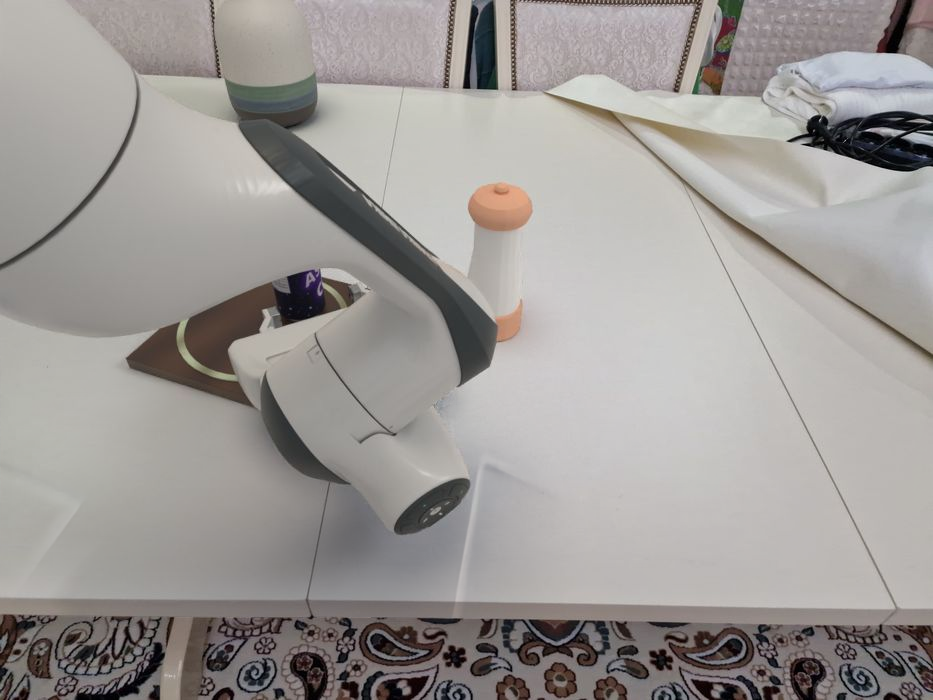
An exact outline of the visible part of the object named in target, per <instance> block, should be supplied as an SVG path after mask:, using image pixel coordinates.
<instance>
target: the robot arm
mask: <svg viewBox="0 0 933 700" xmlns="http://www.w3.org/2000/svg"><path fill="white" fill-rule="evenodd" d="M314 269H320V270H321V269H336V270H339V271H340V270H341V271H343V272H346V273H347V274H349V275H350V276H351V277H353V278H354V279H356V280H357V281H359V282H356V283H354V284H353V283H352V285H350V286H348V290H349V292H348V294H349V298H350V299H351V300H352V303H353V304H352V305H351V306H350V307H347V308H344V309H340V310H337V311H334V312H330V313H327V314H323V315H320V316H317V317H313V318H310V319H306V320H303V321H300V322H296V323H293V324H290V325H286V326H282V322H281V317H280V314H279V311H278V310H277V308H276V306H275V307H271V308H267V309H264V310H262V313H263V317H264V321H263V323H262V325H261V327H260V329H259V330H260V333H259V334H256V335H252V336H249V337H246V338H242V339H238V340H236V341H234V342H233V343H232V344H231V346H230V347H229V349H228V354H229V358H230V361H231V364H232V367H233V370H234V372H235V375H236V377H237V380H238V382H239V384H240V386H241V387H242V389H243V391H244V392H245V394H246V396H247V397H248V399H249V400H250V401H251V403H252V404H253V405H254V406H255V407H254V408H255V409H257V410H258V411H260V412H261V413H260V414H261V418H262V421H263V423H264V426H265V428H266V430H267V433H268V434H269V437H270V438H271V440H272V442H273V444H274V445H275V447H276V448H277V450H278V452H279V453H280V454H281V456H282V457H283V459H284V460H285V461H286V462H287V463H288V464H289V465H290V466H291V467H292V468H293V469H295V470H296V471H298V472H299V473H301V474H302V475H304V476H305V477H309V478H311V479H316V480H320V481H325V482H329V483H333V484H339V485H348V486H351V485H352V486H353V487H354V488H355V489H356V490H357V491H358V492H359V493H360V495H362V497H363V498H364V500H366V502H367V503H368V504H369V506H370V508H372V510H373V512H374V513H375V514H376V515H377V517H378V518H379V520H380V521H381V522H382V524H383V525H384V526H385V527H386V528H387V530H389V531H390V532H392V534H394V535H398V536H404V535H405V536H407V535H412V534H417V533H419V532H421V531H423V530H426V529H428V528H431V527H432V526H434V525H435V524H436V523H439V521H440V520H442V519H443V518H445V517H446V516H447V515H448V514H449V513H451V512H452V511H453V510H454V509H455V508H457V507H458V506H459V505H460V504H461V503H462V501H463V500H464V498H465V497H466V496H467V494H468V492H469V490H470V488H471V485H472V478H471V475H470V472H469V469H468V466H467V464H466V462H465V459H464V457H463V456H462V455H463V454H462V453H461V451H460V449H459V447H458V445H457V443H456V441H455V439H454V437H453V434H452V433H451V431H450V429H449V428H448V426H447V425H446V423H445V421H444V420H443V418H442V416H441V415H440V413H439V412H438V411H437V409H436V407H435V406H434V405H435V404H436V403H438V402H439V401H440V400H441V399H443V398H444V397H445V396H446V395H448V394H449V393H450V392H452V391H453V390H454V389H455V388H456V389H457V388H460V387H462V386H463V385H464V384H466V383H467V382H469V381H470V380H472V379H475V378H476V377H477V376H478V375H480V374H481V373H483V372H484V371H486V370H487V369H489V368H490V367H491V364H492V361H493V358H494V355H495V350H496V347H497V342H496V341H497V334H498V325H497V324H496V321H495V317H494V314H493V312H492V309H491V307H490V306H489V304H488V302H487V300H486V299H485V297H484V296H483V295H482V293H481V292H480V291H479V289H478V288H477V287H476V286H475V285H474V284H473V283H472V282H471V280H470V279H468V278H467V275H465V273H463V272H462V271H460V270H459V269H458V268H456V267H454V266H453V265H451V264H449V263H447V262H446V261H444V260H442V259H441V258H440V257H438V256H437V255H436V254H435V253H433V251H431V250H430V249H428V248H427V247H426V246H425V245H423V243H421V242H420V241H419V240H418V239H417V238H416V237H415V236H413V235H412V234H411V233H410V232H409V231H408V230H407V229H405V227H404V226H402V224H401V223H399V222H398V221H397V220H396V219H395V218H394V217H393V216H391V215H390V213H388V212H387V211H386V210H385V209H384V208H382V206H381V205H379V204H378V203H377V201H375V200H374V199H373V198H372V197H371V196H370V195H369V194H368V193H366V192H365V191H364V190H363V189H362V188H361V187H360V186H358V185H357V184H356V183H355V182H354V181H353V180H352V179H351V178H349V177H348V176H347V174H345V173H344V172H343V171H342V170H340V169H339V168H338V167H337V166H336V165H334V164H333V163H332V162H331V161H330V160H328V159H327V158H326V157H325V156H324V155H323V154H321V153H320V152H319V151H318V150H316V149H315V148H314V147H312V146H311V145H310V144H309V143H308V142H307V141H305V140H304V139H303V138H301V137H300V136H298V135H296V134H295V133H294V132H292V131H291V130H289V129H287V128H285V127H282V126H280V125H278V124H276V123H274V122H272V121H270V120H267V119H260V120H249V121H244V120H239V121H238V122H234V121H230V120H225V119H220V118H217V117H214V116H211V115H208V114H205V113H202V112H200V111H198V110H195V109H192V108H191V107H189V106H186V105H184V104H182V103H180V102H178V101H176V100H174V99H173V98H171V97H169V96H168V95H166V94H165V93H163V92H161V91H160V90H159V89H158V88H156V87H155V86H154V85H152V84H151V83H150V82H149V81H147V79H146V78H144V77H143V76H142V75H141V74H140V73H139V72H138V71H137V70H136V69H135V68H134V67H133V66H132V65H131V64H129V62H128V61H127V59H125V58H124V57H123V56H122V55H121V54H120V52H119V51H118V50H116V49H115V47H113V45H112V44H110V42H108V41H107V39H106V38H105V37H104V36H102V34H100V32H99V31H98V30H97V29H96V28H95V27H94V25H92V24H91V23H90V22H89V21H88V20H87V19H86V18H85V17H84V16H83V15H82V14H81V13H79V11H77V10H76V9H75V7H73V6H72V5H71V4H70V3H69V2H67V0H0V316H2V317H5V318H8V319H10V320H13V321H16V322H18V323H20V324H23V325H27V326H29V327H33V328H37V329H39V330H44V331H48V332H52V333H53V332H54V333H57V334H64V335H67V336H74V337H81V338H89V339H91V338H93V339H105V338H119V337H126V336H133V335H137V334H144V333H148V332H153V331H157V330H159V329H160V328H163V327H167V326H170V325H172V324H175V323H178V322H181V321H183V320H186V319H188V318H190V317H192V316H195V315H197V314H199V313H201V312H203V311H205V310H207V309H209V308H211V307H213V306H216V305H218V304H220V303H222V302H224V301H226V300H228V299H231V298H233V297H235V296H237V295H239V294H242V293H244V292H246V291H249V290H251V289H253V288H256V287H258V286H261V285H264V284H267V283H269V282H272V281H275V280H278V279H281V278H284V277H287V276H290V275H293V274H297V273H300V272H304V271H309V270H314ZM364 285H365V286H366V287H367V288H368V289H371V290H368V289H365V288H366V287H364Z"/></svg>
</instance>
